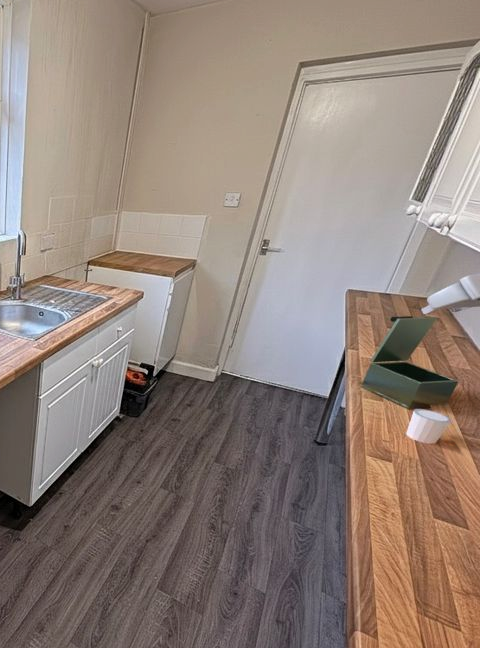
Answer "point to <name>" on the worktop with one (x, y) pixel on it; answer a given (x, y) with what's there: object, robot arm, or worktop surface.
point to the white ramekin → (427, 426)
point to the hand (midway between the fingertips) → (438, 310)
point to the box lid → (403, 338)
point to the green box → (408, 384)
